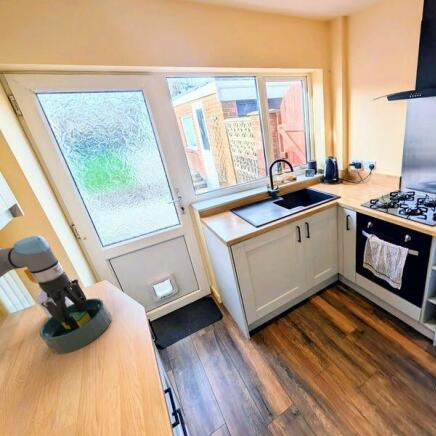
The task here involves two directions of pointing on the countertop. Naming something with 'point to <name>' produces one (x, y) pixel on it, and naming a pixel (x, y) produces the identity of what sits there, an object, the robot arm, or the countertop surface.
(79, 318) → the sponge
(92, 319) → the bowl
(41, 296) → the soap bottle
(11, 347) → the countertop surface
